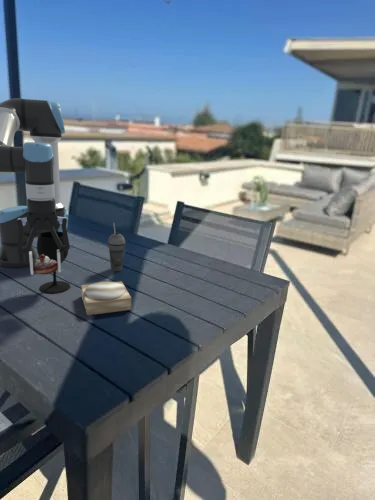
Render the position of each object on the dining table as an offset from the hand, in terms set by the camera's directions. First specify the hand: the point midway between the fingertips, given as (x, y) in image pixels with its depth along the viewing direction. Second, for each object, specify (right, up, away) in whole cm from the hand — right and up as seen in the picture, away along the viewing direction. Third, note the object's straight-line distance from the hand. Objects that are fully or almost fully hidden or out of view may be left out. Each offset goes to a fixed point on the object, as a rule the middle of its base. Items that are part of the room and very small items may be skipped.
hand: (45, 271), depth 108 cm
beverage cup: (+14, -2, +40) cm, 42 cm away
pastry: (-1, 0, +2) cm, 2 cm away
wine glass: (-4, -7, +19) cm, 20 cm away
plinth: (+16, -11, +10) cm, 22 cm away
